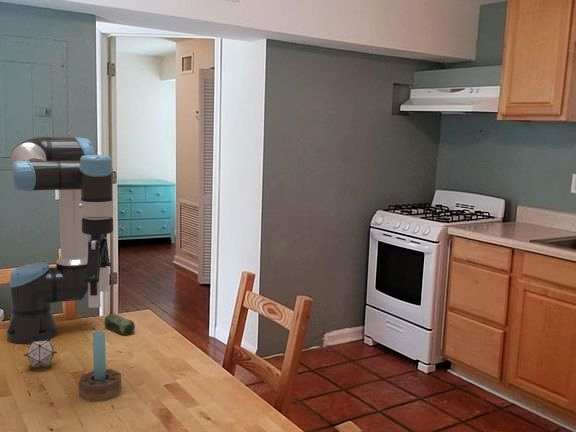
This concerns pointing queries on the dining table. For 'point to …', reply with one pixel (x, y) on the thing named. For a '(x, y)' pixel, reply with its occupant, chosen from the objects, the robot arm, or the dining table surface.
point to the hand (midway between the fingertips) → (99, 299)
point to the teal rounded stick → (99, 356)
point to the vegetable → (119, 324)
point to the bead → (100, 386)
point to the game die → (40, 353)
